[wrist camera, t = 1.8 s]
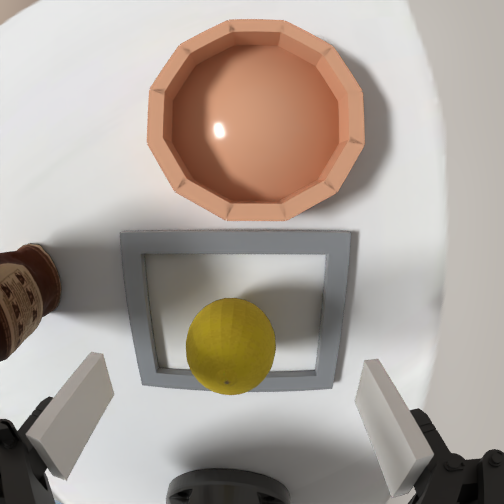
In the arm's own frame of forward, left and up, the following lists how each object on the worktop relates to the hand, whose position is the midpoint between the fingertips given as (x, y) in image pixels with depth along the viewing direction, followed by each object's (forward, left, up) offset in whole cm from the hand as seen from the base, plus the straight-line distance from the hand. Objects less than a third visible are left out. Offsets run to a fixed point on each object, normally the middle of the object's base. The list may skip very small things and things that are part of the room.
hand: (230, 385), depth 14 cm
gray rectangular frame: (0, 0, -9) cm, 9 cm away
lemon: (0, 0, -9) cm, 9 cm away
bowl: (+14, -1, -9) cm, 16 cm away
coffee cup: (+2, +18, -9) cm, 20 cm away
